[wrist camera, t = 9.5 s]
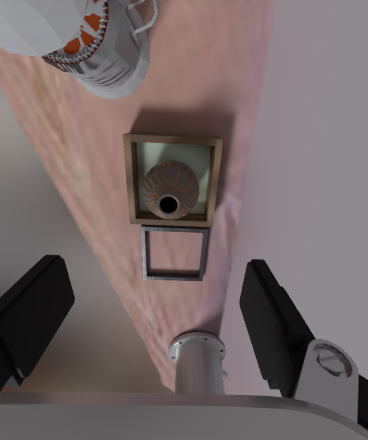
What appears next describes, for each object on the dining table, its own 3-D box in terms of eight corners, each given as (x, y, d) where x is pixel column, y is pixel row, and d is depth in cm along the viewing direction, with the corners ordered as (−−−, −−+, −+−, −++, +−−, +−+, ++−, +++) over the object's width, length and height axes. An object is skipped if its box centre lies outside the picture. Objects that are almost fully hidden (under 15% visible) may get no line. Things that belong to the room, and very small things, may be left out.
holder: (209, 218, 31) (212, 227, 28) (134, 214, 31) (130, 223, 28) (219, 137, 26) (223, 139, 23) (129, 132, 26) (122, 133, 23)
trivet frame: (201, 277, 36) (202, 281, 35) (144, 275, 36) (143, 279, 35) (207, 226, 32) (208, 229, 31) (141, 223, 31) (140, 226, 30)
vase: (172, 144, 26) (167, 154, 18) (207, 182, 28) (217, 206, 20) (137, 181, 28) (119, 204, 20) (172, 214, 30) (169, 246, 22)
